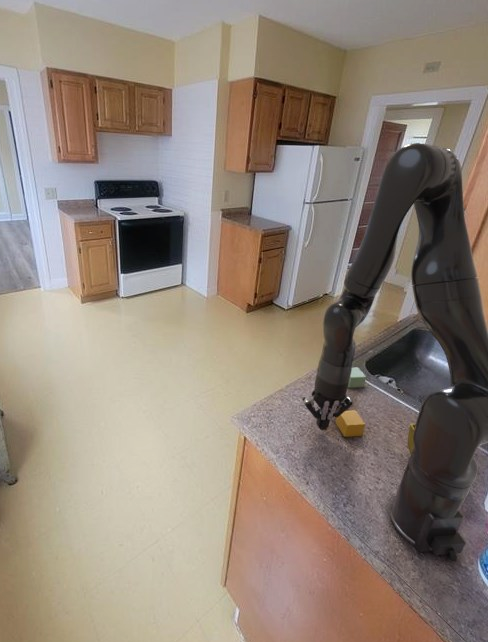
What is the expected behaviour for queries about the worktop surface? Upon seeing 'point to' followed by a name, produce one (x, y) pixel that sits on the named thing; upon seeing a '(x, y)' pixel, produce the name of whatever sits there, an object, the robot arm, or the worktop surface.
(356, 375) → the sage block
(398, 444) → the worktop surface
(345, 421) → the mustard block
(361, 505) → the worktop surface
